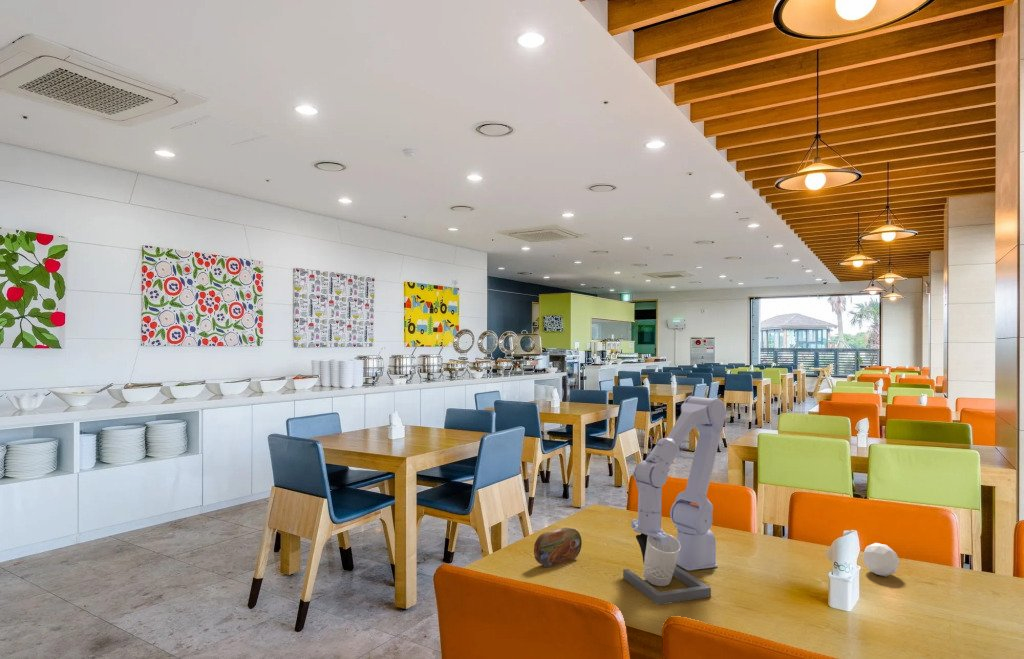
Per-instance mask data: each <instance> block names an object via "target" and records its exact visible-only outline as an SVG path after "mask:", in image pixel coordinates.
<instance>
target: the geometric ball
mask: <svg viewBox="0 0 1024 659" xmlns="http://www.w3.org/2000/svg"><path fill="white" fill-rule="evenodd" d="M863 551H864V552H863V554H862V560H863V564H864V566H865V567H866V568H867V569H868V570H870V571H871V572H872V573H873V574H874V573H875V575H878V576H882V577H888V576H889V577H890V576H891V575H893V574H896V572H897V570H898V568H899V566H900V560H899V556H898V554H897V553H896V552H895V551H894V549H892V548H891V547H890V546H888V545H887V544H884V543H883V544H882V543H879V542H874V543H872V544H869V545H867V546H866V547H865V548H864V550H863Z"/></svg>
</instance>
